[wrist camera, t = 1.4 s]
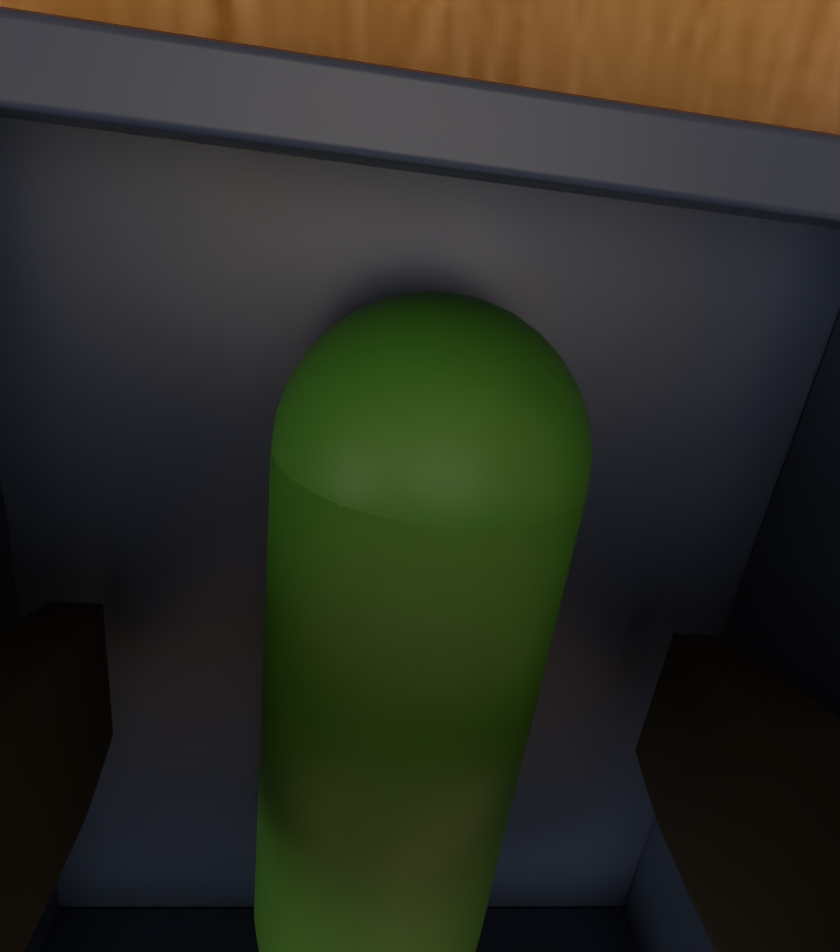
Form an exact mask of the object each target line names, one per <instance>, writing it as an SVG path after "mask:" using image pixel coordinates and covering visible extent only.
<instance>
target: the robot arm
mask: <svg viewBox="0 0 840 952" xmlns="http://www.w3.org/2000/svg"><path fill="white" fill-rule="evenodd" d="M112 737H113V726H112V713H111V700H110V687H109V675H108V662H107V649H106V636H105V623H104V610H103V604H101V603H82V602H63V601H48V602H47V603H45V604H43V605H42V606H40V607H39V608H37V609H35V610H34V611H32V612H31V613H29V614H28V615H26V616H25V617H23V618H22V619H20V620H19V621H17V622H16V623H14V624H13V625H11V626H10V627H8V628H7V629H5V630H4V631H2V632H1V633H0V952H25V949H26V947H27V945H28V943H29V941H30V939H31V937H32V934H33V932H34V930H35V928H36V926H37V924H38V922H39V919H40V917H41V915H42V913H43V911H44V909H45V906H46V904H47V902H48V900H49V898H50V896H51V894H52V891H53V889H54V887H55V885H56V883H57V880H58V878H59V876H60V874H61V872H62V870H63V867H64V865H65V863H66V861H67V859H68V856H69V854H70V852H71V850H72V848H73V846H74V843H75V841H76V839H77V837H78V834H79V832H80V830H81V828H82V825H83V823H84V821H85V819H86V816H87V813H88V810H89V807H90V804H91V801H92V798H93V796H94V793H95V790H96V787H97V784H98V781H99V778H100V775H101V772H102V768H103V765H104V762H105V759H106V756H107V753H108V749H109V746H110V743H111V740H112ZM635 751H636V755H637V758H638V762H639V765H640V768H641V772H642V775H643V779H644V782H645V786H646V789H647V792H648V795H649V798H650V801H651V804H652V807H653V810H654V813H655V817H656V820H657V823H658V826H659V828H660V830H661V833H662V835H663V837H664V840H665V842H666V844H667V847H668V849H669V851H670V853H671V856H672V858H673V860H674V862H675V865H676V867H677V869H678V871H679V874H680V876H681V878H682V880H683V883H684V885H685V887H686V889H687V891H688V894H689V896H690V898H691V900H692V902H693V905H694V907H695V909H696V911H697V913H698V916H699V918H700V920H701V922H702V924H703V926H704V929H705V931H706V933H707V935H708V937H709V940H710V942H711V944H712V946H713V948H714V951H715V952H840V718H838V717H837V716H835V715H834V714H832V713H831V712H830V711H828V710H827V709H825V708H824V707H823V706H821V705H820V704H818V703H817V702H815V701H814V700H813V699H811V698H810V697H808V696H807V695H806V694H804V693H803V692H801V691H800V690H798V689H797V688H796V687H794V686H793V685H791V684H790V683H789V682H787V681H786V680H784V679H783V678H781V677H780V676H779V675H777V674H776V673H774V672H773V671H771V670H770V669H768V668H767V667H765V666H764V665H763V664H761V663H760V662H758V661H757V660H755V659H754V658H752V657H751V656H749V655H748V654H746V653H745V652H743V651H742V650H740V649H738V648H737V647H735V646H734V645H732V644H730V643H729V642H727V641H725V640H724V639H722V638H720V637H719V636H717V635H697V634H678V633H673V636H672V639H671V642H670V645H669V648H668V651H667V654H666V658H665V661H664V664H663V667H662V670H661V673H660V676H659V679H658V682H657V685H656V688H655V691H654V694H653V697H652V700H651V703H650V706H649V709H648V712H647V715H646V718H645V721H644V724H643V727H642V730H641V733H640V736H639V740H638V743H637V746H636V749H635Z"/></svg>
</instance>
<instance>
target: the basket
mask: <svg viewBox="0 0 840 952" xmlns="http://www.w3.org/2000/svg"><path fill="white" fill-rule="evenodd" d="M423 291H442V292H451V293H458V294H464V295H469V296H473V297H477V298H480V299H483V300H485V301H487V302H489V303H492V304H494V305H496V306H499V307H501V308H503V309H506V310H508V311H510V312H512V313H513V314H515V315H516V316H518V317H519V318H520V319H522V320H523V321H525V322H526V323H527V324H529V325H530V326H531V327H533V328H534V329H535V330H537V331H538V332H540V333H541V334H542V336H543V337H544V338H545V339H546V340H547V341H548V342H549V344H550V345H551V346H552V347H553V348H554V349H555V350H556V351H557V353H558V354H559V355H560V356H561V357H562V359H563V360H564V361H565V363H566V365H567V367H568V369H569V370H570V372H571V374H572V376H573V378H574V379H575V381H576V383H577V385H578V386H579V388H580V391H581V394H582V397H583V401H584V404H585V407H586V410H587V414H588V417H589V424H590V436H591V448H592V465H591V473H590V481H589V488H588V493H587V497H586V501H585V505H584V510H583V514H582V518H581V522H580V526H579V530H578V534H577V538H576V543H575V547H574V551H573V555H572V559H571V563H570V567H569V571H568V576H567V580H566V584H565V588H564V592H563V596H562V600H561V604H560V609H559V613H558V617H557V621H556V625H555V629H554V633H553V637H552V642H551V646H550V650H549V654H548V658H547V662H546V666H545V670H544V675H543V679H542V683H541V687H540V691H539V695H538V699H537V703H536V708H535V712H534V716H533V720H532V724H531V728H530V732H529V736H528V741H527V745H526V749H525V753H524V757H523V761H522V765H521V769H520V774H519V778H518V782H517V786H516V790H515V794H514V798H513V802H512V807H511V811H510V815H509V819H508V823H507V827H506V831H505V835H504V840H503V844H502V848H501V852H500V856H499V860H498V864H497V868H496V873H495V877H494V881H493V885H492V889H491V893H490V897H489V901H488V905H487V910H486V914H485V918H484V922H483V926H482V930H481V934H480V938H479V942H478V945H477V948H476V952H715V951H714V948H713V946H712V944H711V942H710V940H709V937H708V935H707V933H706V931H705V929H704V926H703V924H702V922H701V920H700V918H699V916H698V913H697V911H696V909H695V907H694V905H693V902H692V900H691V898H690V896H689V894H688V891H687V889H686V887H685V885H684V883H683V880H682V878H681V876H680V874H679V871H678V869H677V867H676V865H675V862H674V860H673V858H672V856H671V853H670V851H669V849H668V847H667V844H666V842H665V840H664V837H663V835H662V833H661V830H660V828H659V826H658V823H657V820H656V817H655V813H654V810H653V807H652V804H651V801H650V798H649V795H648V792H647V789H646V786H645V782H644V779H643V775H642V772H641V768H640V765H639V762H638V758H637V755H636V751H635V749H636V746H637V743H638V740H639V736H640V733H641V730H642V727H643V724H644V721H645V718H646V715H647V712H648V709H649V706H650V703H651V700H652V697H653V694H654V691H655V688H656V685H657V682H658V679H659V676H660V673H661V670H662V667H663V664H664V661H665V658H666V654H667V651H668V648H669V645H670V642H671V639H672V636H673V633H678V634H697V635H717V636H719V637H720V638H722V639H724V640H725V641H727V642H729V643H730V644H732V645H734V646H735V647H737V648H738V649H740V650H742V651H743V652H745V653H746V654H748V655H749V656H751V657H752V658H754V659H755V660H757V661H758V662H760V663H761V664H763V665H764V666H765V667H767V668H768V669H770V670H771V671H773V672H774V673H776V674H777V675H779V676H780V677H781V678H783V679H784V680H786V681H787V682H789V683H790V684H791V685H793V686H794V687H796V688H797V689H798V690H800V691H801V692H803V693H804V694H806V695H807V696H808V697H810V698H811V699H813V700H814V701H815V702H817V703H818V704H820V705H821V706H823V707H824V708H825V709H827V710H828V711H830V712H831V713H832V714H834V715H835V716H837V717H838V718H840V135H837V134H830V133H824V132H817V131H810V130H804V129H797V128H791V127H784V126H778V125H771V124H765V123H758V122H752V121H745V120H739V119H732V118H725V117H719V116H712V115H706V114H699V113H693V112H686V111H680V110H673V109H667V108H660V107H654V106H647V105H640V104H634V103H627V102H621V101H614V100H608V99H601V98H595V97H588V96H582V95H575V94H568V93H562V92H555V91H549V90H542V89H536V88H529V87H523V86H516V85H510V84H503V83H497V82H490V81H483V80H477V79H470V78H464V77H457V76H451V75H444V74H438V73H431V72H425V71H418V70H412V69H405V68H398V67H392V66H385V65H379V64H372V63H366V62H359V61H353V60H346V59H340V58H333V57H326V56H320V55H313V54H307V53H300V52H294V51H287V50H281V49H274V48H268V47H261V46H255V45H248V44H241V43H235V42H228V41H222V40H215V39H209V38H202V37H196V36H189V35H183V34H176V33H169V32H163V31H156V30H150V29H143V28H137V27H130V26H124V25H117V24H111V23H104V22H98V21H91V20H84V19H78V18H71V17H65V16H58V15H52V14H45V13H39V12H32V11H26V10H19V9H13V8H6V7H0V633H1V632H2V631H4V630H5V629H7V628H8V627H10V626H11V625H13V624H14V623H16V622H17V621H19V620H20V619H22V618H23V617H25V616H26V615H28V614H29V613H31V612H32V611H34V610H35V609H37V608H39V607H40V606H42V605H43V604H45V603H47V602H48V601H63V602H82V603H101V604H103V610H104V623H105V636H106V649H107V662H108V675H109V687H110V700H111V713H112V726H113V737H112V740H111V743H110V746H109V749H108V753H107V756H106V759H105V762H104V765H103V768H102V772H101V775H100V778H99V781H98V784H97V787H96V790H95V793H94V796H93V798H92V801H91V804H90V807H89V810H88V813H87V816H86V819H85V821H84V823H83V825H82V828H81V830H80V832H79V834H78V837H77V839H76V841H75V843H74V846H73V848H72V850H71V852H70V854H69V856H68V859H67V861H66V863H65V865H64V867H63V870H62V872H61V874H60V876H59V878H58V880H57V883H56V885H55V887H54V889H53V891H52V894H51V896H50V898H49V900H48V902H47V904H46V906H45V909H44V911H43V913H42V915H41V917H40V919H39V922H38V924H37V926H36V928H35V930H34V932H33V934H32V937H31V939H30V941H29V943H28V945H27V947H26V949H25V952H259V949H258V943H257V937H256V930H255V922H254V896H255V869H256V841H257V813H258V786H259V758H260V730H261V703H262V675H263V647H264V620H265V592H266V564H267V537H268V509H269V481H270V454H271V442H272V435H273V429H274V422H275V415H276V410H277V407H278V404H279V402H280V399H281V396H282V394H283V391H284V388H285V386H286V383H287V381H288V379H289V378H290V376H291V375H292V373H293V372H294V370H295V368H296V367H297V365H298V364H299V362H300V361H301V359H302V357H303V356H304V354H305V353H306V352H307V350H308V349H309V348H310V347H311V346H312V345H313V344H314V343H315V342H316V341H317V340H318V339H319V338H320V337H321V336H322V335H323V334H324V333H325V332H326V331H327V330H328V329H329V328H330V327H331V326H333V325H334V324H336V323H337V322H339V321H340V320H342V319H343V318H345V317H346V316H348V315H349V314H351V313H353V312H354V311H356V310H357V309H359V308H361V307H364V306H367V305H369V304H372V303H374V302H377V301H380V300H382V299H385V298H387V297H390V296H395V295H402V294H409V293H416V292H423Z"/></svg>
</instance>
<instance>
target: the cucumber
mask: <svg viewBox="0 0 840 952" xmlns="http://www.w3.org/2000/svg"><path fill="white" fill-rule="evenodd" d="M591 465H592V448H591V436H590V424H589V417H588V414H587V410H586V407H585V404H584V401H583V397H582V394H581V391H580V388H579V386H578V385H577V383H576V381H575V379H574V378H573V376H572V374H571V372H570V370H569V369H568V367H567V365H566V363H565V361H564V360H563V359H562V357H561V356H560V355H559V354H558V353H557V351H556V350H555V349H554V348H553V347H552V346H551V345H550V344H549V342H548V341H547V340H546V339H545V338H544V337H543V336H542V334H541V333H540V332H538V331H537V330H535V329H534V328H533V327H531V326H530V325H529V324H527V323H526V322H525V321H523V320H522V319H520V318H519V317H518V316H516V315H515V314H513V313H512V312H510V311H508V310H506V309H503V308H501V307H499V306H496V305H494V304H492V303H489V302H487V301H485V300H483V299H480V298H477V297H473V296H469V295H464V294H458V293H451V292H442V291H423V292H416V293H409V294H402V295H395V296H390V297H387V298H385V299H382V300H380V301H377V302H374V303H372V304H369V305H367V306H364V307H361V308H359V309H357V310H356V311H354V312H353V313H351V314H349V315H348V316H346V317H345V318H343V319H342V320H340V321H339V322H337V323H336V324H334V325H333V326H331V327H330V328H329V329H328V330H327V331H326V332H325V333H324V334H323V335H322V336H321V337H320V338H319V339H318V340H317V341H316V342H315V343H314V344H313V345H312V346H311V347H310V348H309V349H308V350H307V352H306V353H305V354H304V356H303V357H302V359H301V361H300V362H299V364H298V365H297V367H296V368H295V370H294V372H293V373H292V375H291V376H290V378H289V379H288V381H287V383H286V386H285V388H284V391H283V394H282V396H281V399H280V402H279V404H278V407H277V410H276V415H275V422H274V429H273V435H272V442H271V454H270V481H269V509H268V537H267V564H266V592H265V620H264V647H263V675H262V703H261V730H260V758H259V786H258V813H257V841H256V869H255V896H254V922H255V930H256V937H257V943H258V949H259V952H476V948H477V945H478V942H479V938H480V934H481V930H482V926H483V922H484V918H485V914H486V910H487V905H488V901H489V897H490V893H491V889H492V885H493V881H494V877H495V873H496V868H497V864H498V860H499V856H500V852H501V848H502V844H503V840H504V835H505V831H506V827H507V823H508V819H509V815H510V811H511V807H512V802H513V798H514V794H515V790H516V786H517V782H518V778H519V774H520V769H521V765H522V761H523V757H524V753H525V749H526V745H527V741H528V736H529V732H530V728H531V724H532V720H533V716H534V712H535V708H536V703H537V699H538V695H539V691H540V687H541V683H542V679H543V675H544V670H545V666H546V662H547V658H548V654H549V650H550V646H551V642H552V637H553V633H554V629H555V625H556V621H557V617H558V613H559V609H560V604H561V600H562V596H563V592H564V588H565V584H566V580H567V576H568V571H569V567H570V563H571V559H572V555H573V551H574V547H575V543H576V538H577V534H578V530H579V526H580V522H581V518H582V514H583V510H584V505H585V501H586V497H587V493H588V488H589V481H590V473H591Z"/></svg>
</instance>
